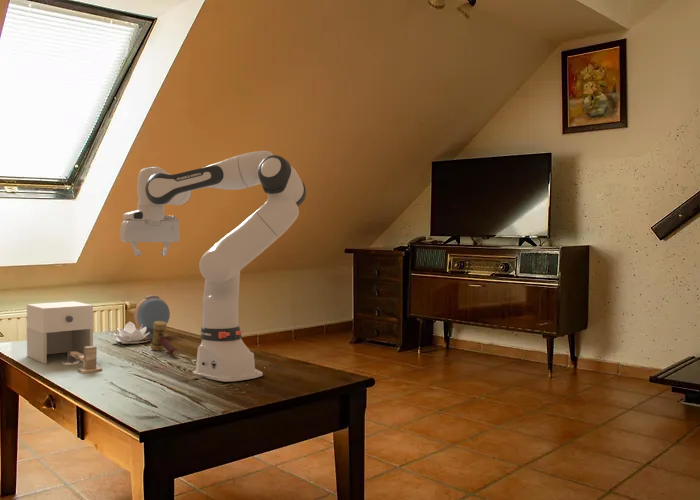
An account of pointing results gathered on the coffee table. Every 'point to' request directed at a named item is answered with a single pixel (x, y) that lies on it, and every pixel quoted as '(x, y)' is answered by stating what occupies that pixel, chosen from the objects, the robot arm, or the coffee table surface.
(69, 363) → the disc
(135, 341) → the lotus flower
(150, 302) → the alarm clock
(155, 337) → the gavel
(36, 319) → the cabinet
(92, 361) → the hook tool
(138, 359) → the coffee table surface
